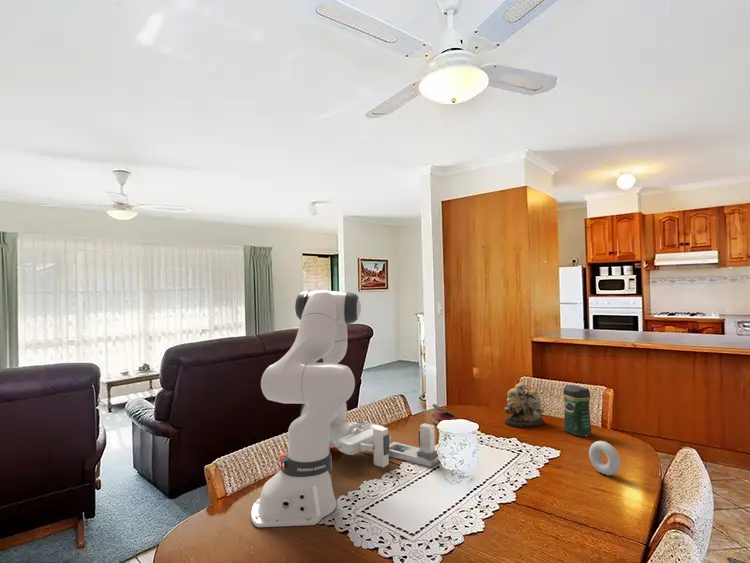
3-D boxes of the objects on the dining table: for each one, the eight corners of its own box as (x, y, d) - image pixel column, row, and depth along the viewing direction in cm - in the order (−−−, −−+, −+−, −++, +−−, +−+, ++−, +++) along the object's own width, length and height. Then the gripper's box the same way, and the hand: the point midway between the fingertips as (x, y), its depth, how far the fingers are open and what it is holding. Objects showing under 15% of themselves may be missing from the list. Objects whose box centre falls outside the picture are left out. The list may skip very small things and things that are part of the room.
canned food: (433, 431, 187) (431, 408, 192) (456, 429, 185) (453, 406, 190) (431, 426, 177) (429, 402, 182) (456, 424, 176) (452, 400, 181)
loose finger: (373, 464, 141) (373, 428, 141) (379, 461, 144) (378, 426, 144) (385, 467, 139) (384, 431, 139) (390, 464, 141) (389, 428, 141)
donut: (623, 479, 127) (622, 446, 127) (615, 481, 125) (614, 448, 126) (594, 466, 136) (593, 435, 136) (586, 468, 135) (585, 437, 135)
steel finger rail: (381, 454, 150) (380, 420, 150) (394, 447, 156) (393, 414, 157) (431, 467, 138) (430, 430, 138) (442, 459, 144) (441, 424, 145)
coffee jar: (595, 435, 164) (594, 387, 164) (579, 438, 161) (578, 389, 161) (576, 428, 173) (574, 382, 173) (560, 430, 170) (559, 384, 170)
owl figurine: (512, 430, 173) (510, 388, 173) (497, 421, 184) (496, 382, 184) (551, 425, 177) (549, 384, 177) (534, 417, 188) (532, 379, 188)
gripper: (329, 435, 141) (362, 443, 133) (367, 419, 157) (398, 426, 149) (330, 454, 141) (362, 464, 133) (367, 436, 157) (398, 444, 149)
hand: (381, 443), depth 141 cm, fingers open, 8 cm apart
